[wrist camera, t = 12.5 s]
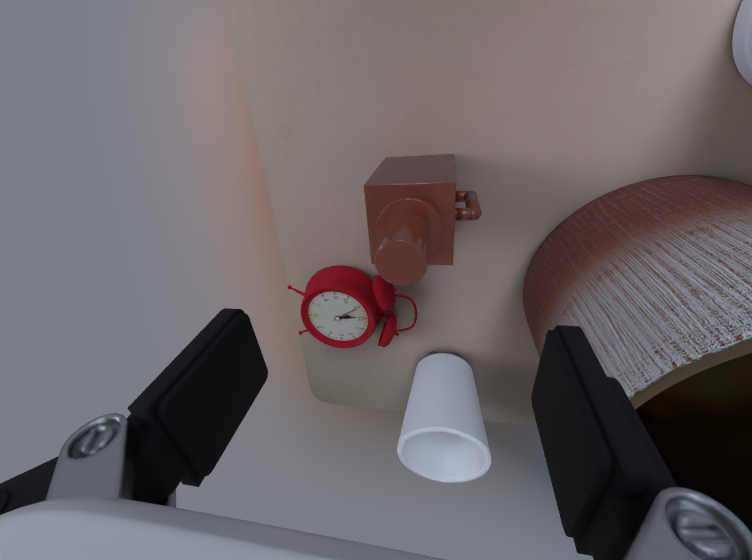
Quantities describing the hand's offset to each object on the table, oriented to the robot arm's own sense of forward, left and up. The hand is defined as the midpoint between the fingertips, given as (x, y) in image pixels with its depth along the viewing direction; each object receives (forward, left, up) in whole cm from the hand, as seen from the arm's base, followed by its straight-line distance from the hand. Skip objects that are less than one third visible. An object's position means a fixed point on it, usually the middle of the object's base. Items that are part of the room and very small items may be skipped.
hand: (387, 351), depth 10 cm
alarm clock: (+16, -9, -26) cm, 32 cm away
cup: (+27, +2, -26) cm, 38 cm away
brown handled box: (+2, 0, -26) cm, 26 cm away
